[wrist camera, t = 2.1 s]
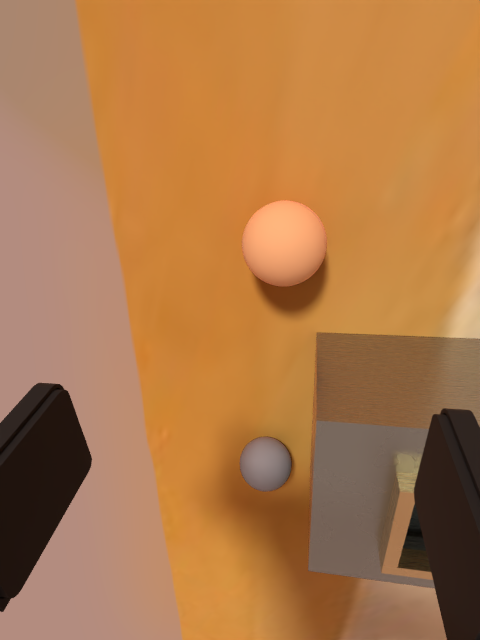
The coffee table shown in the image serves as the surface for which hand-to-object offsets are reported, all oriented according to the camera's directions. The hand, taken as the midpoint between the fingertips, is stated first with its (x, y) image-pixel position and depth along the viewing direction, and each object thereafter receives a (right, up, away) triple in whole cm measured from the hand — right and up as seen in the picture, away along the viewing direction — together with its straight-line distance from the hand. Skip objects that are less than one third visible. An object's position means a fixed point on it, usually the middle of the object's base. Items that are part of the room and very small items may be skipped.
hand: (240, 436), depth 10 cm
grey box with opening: (+13, -4, +18) cm, 23 cm away
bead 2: (+4, -7, +22) cm, 23 cm away
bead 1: (+3, +8, +13) cm, 16 cm away
